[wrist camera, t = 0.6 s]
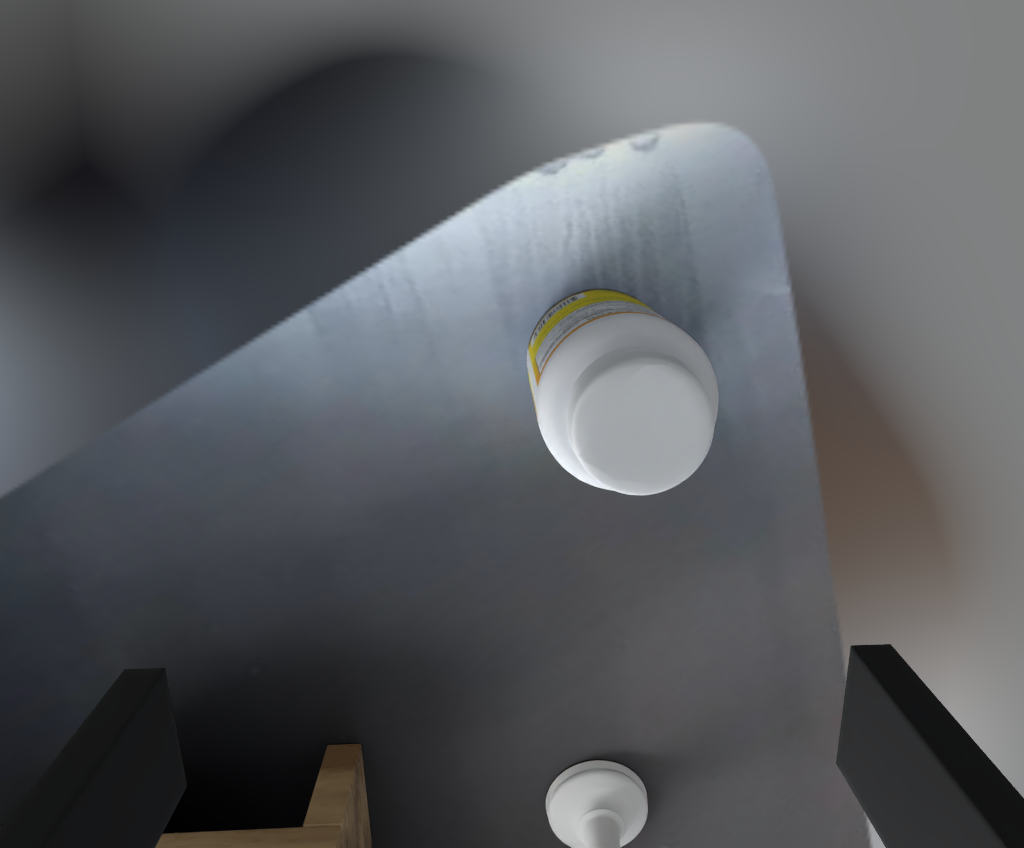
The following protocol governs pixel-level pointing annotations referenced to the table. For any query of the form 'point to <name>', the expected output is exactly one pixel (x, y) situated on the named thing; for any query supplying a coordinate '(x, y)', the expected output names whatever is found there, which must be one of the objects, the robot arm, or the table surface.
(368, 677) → the table surface
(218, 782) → the table surface
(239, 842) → the shelf
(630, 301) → the supplement bottle
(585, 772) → the chess piece
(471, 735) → the table surface
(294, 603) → the table surface
